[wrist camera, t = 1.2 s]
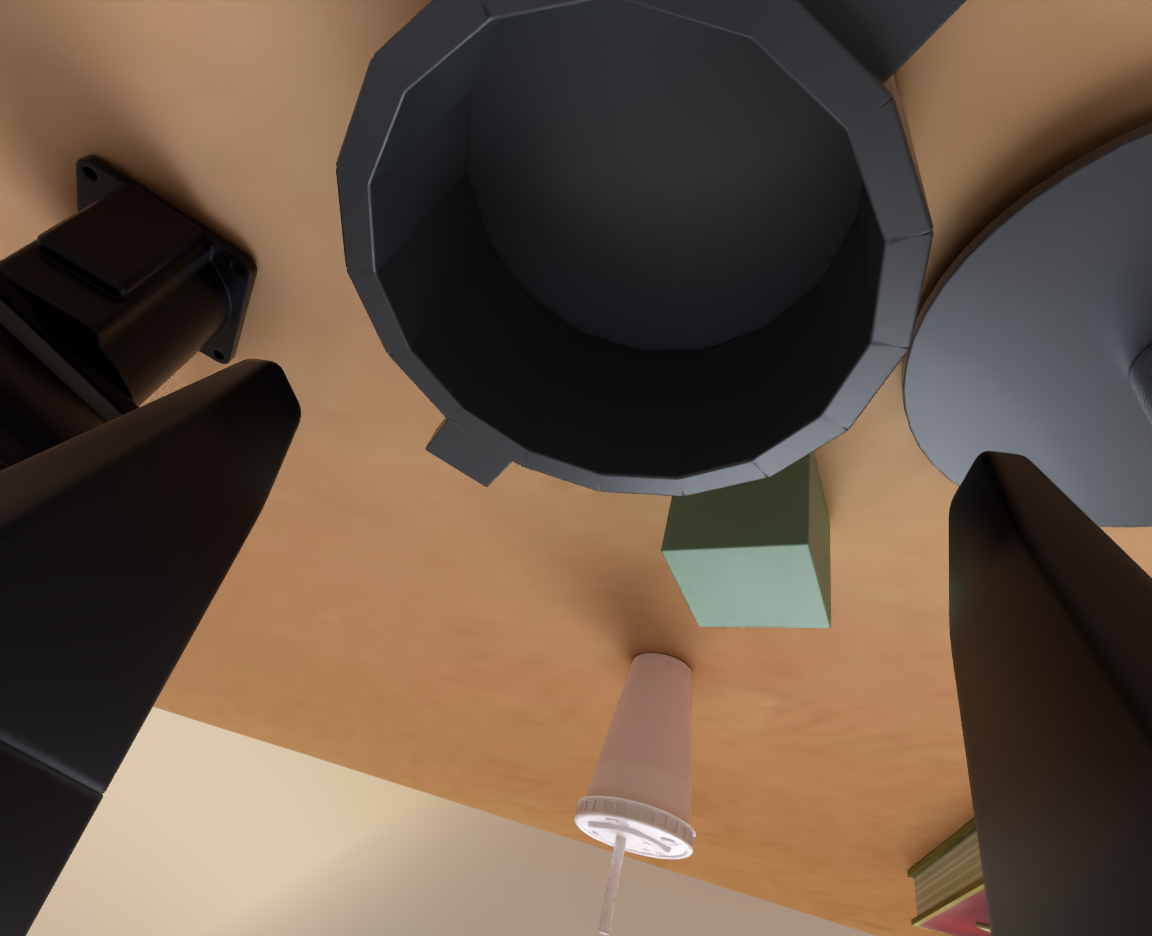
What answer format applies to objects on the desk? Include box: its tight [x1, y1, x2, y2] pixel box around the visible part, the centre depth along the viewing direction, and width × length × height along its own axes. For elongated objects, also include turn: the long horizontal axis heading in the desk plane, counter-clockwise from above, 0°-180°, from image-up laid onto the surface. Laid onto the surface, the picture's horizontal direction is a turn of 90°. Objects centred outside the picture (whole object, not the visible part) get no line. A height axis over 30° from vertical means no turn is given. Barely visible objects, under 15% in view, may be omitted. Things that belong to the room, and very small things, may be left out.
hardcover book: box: [908, 818, 991, 936], centre depth 45 cm, size 12×21×4 cm, turn 5°
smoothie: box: [575, 653, 696, 935], centre depth 35 cm, size 6×6×14 cm
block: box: [661, 452, 831, 628], centre depth 25 cm, size 5×5×5 cm
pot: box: [336, 0, 966, 496], centre depth 16 cm, size 13×18×6 cm
